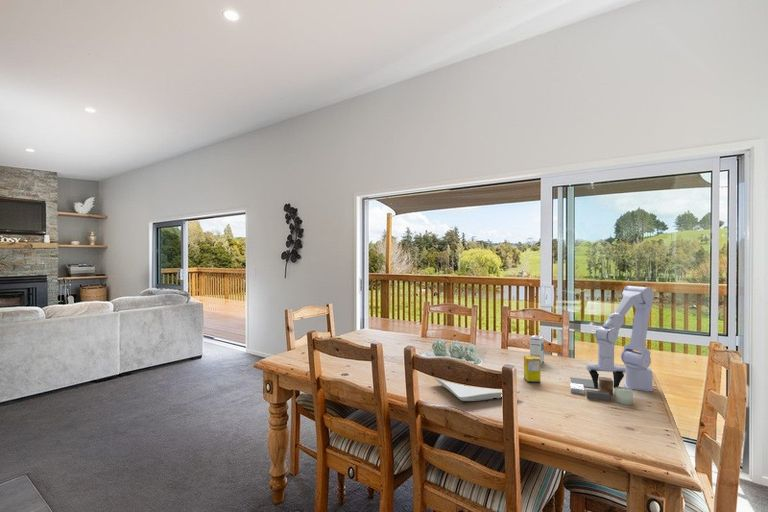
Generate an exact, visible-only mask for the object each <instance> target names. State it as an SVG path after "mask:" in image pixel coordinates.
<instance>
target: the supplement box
mask: <svg viewBox="0 0 768 512" xmlns="http://www.w3.org/2000/svg"><path fill="white" fill-rule="evenodd" d="M541 378H542V377H541V365H540V358H538V357H537V356H530V355H524V356H523V380H525V382H526V383H528V384H530V383H531V384H534V383H535V384H541V380H542V379H541Z"/></svg>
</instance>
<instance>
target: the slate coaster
mask: <svg viewBox="0 0 768 512" xmlns="http://www.w3.org/2000/svg"><path fill="white" fill-rule="evenodd" d="M569 379H571V380H570V383H576V384H583V386H584V388H586V387H587V388H588V389H593V390H594V389H595V390H599V383H598V389H596V388H595V387H594V383H593V380H592V379H591V378H590V379H589V378H588V379H587V378H581V377H579V378H578V377H571V376H570V377H569ZM587 388H586V389H587Z"/></svg>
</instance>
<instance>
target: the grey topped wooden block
mask: <svg viewBox="0 0 768 512" xmlns="http://www.w3.org/2000/svg"><path fill="white" fill-rule="evenodd" d="M569 386H570V387H569V389H570V394H577V395H585V387H584V386H583V384H576V383H571V382H570V384H569Z"/></svg>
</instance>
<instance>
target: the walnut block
mask: <svg viewBox="0 0 768 512" xmlns="http://www.w3.org/2000/svg"><path fill="white" fill-rule="evenodd" d="M598 384H599V389H598V391H603V392H609V394H610V396H614V379H612V377H608V376H607V377H605V376H599V377H598Z"/></svg>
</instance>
